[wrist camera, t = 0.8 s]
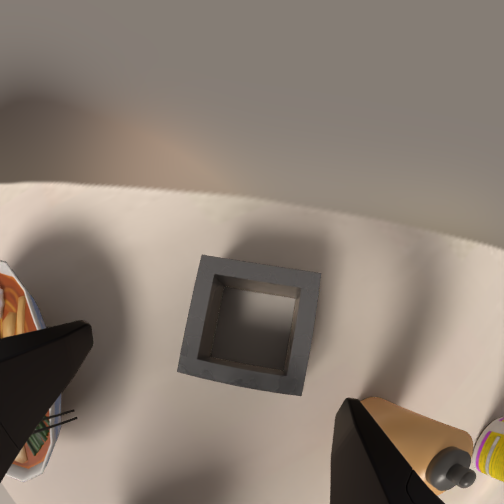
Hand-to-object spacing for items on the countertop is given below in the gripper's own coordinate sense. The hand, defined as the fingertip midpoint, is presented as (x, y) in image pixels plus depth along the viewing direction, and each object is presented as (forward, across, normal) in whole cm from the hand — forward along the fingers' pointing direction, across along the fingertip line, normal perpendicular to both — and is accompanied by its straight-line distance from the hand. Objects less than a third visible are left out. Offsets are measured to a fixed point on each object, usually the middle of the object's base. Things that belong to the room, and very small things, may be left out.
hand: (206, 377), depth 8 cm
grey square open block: (+13, -1, +6) cm, 15 cm away
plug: (+10, -12, +11) cm, 19 cm away
